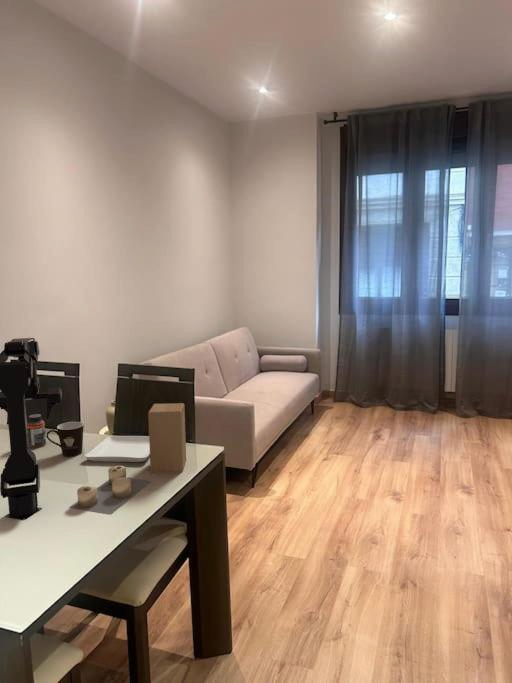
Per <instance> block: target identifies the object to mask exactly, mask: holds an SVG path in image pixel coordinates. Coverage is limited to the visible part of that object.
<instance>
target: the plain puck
mask: <svg viewBox="0 0 512 683" xmlns="http://www.w3.org/2000/svg"><path fill="white" fill-rule="evenodd" d="M129 478H130V477H126V478H118V479H115V480H113V481H112V491H113V498H115V499H124V498H128V497H129V496H131V480H130V479H129Z"/></svg>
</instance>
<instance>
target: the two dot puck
mask: <svg viewBox="0 0 512 683" xmlns="http://www.w3.org/2000/svg"><path fill="white" fill-rule="evenodd" d="M107 470H108V480H109V484H110V485H112V481H113V480H115V479H118V478H127V467H126V466H123V465H115V466H112V467H110V468H108V469H107Z"/></svg>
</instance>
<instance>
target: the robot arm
mask: <svg viewBox="0 0 512 683" xmlns="http://www.w3.org/2000/svg"><path fill="white" fill-rule="evenodd" d="M40 353H41V352H40V347H39V342H38V341H36V339H35V337H22V338H21V337H20V338H12V339H11V340H10V341H7V342H5V343H4V346H3V350H2V351H1V352H0V410H4V411H5V412H6V413H7V422H8V424H7V425H8V434H9V448H10V454H9V456H8V458H7V459H6V461H5V464H4V468H2V473H0V496H2V498H3V499H6V498H7V502H8V504H7V505H8V514H6V515H5V516H4V518H9V519H14V520H20V521H26V520H27V519H29V518H31V517H32V516H34V515H36V514H37V513H38V512H40V511H42V509H43V508H42V507H38V506H39V503H38V493H39V492H40V488H41V476H40V474H41V473H40V472H41V471H40V464H39V463H37V456H36V453H35V452H34V451H32V450H31V449H30V447H29V445H28V432H27V423H28V420H27V418H28V417H27V409H26V408H27V407H26V406H27V405H26V401H29V400H31V401H32V400H41V399H42V400H43V399H44V400H45V399H46V400H47V401H46V413H45V416H46V421H48V420H49V417H50V414H51V411H52V409H53V407H54V406H56V405H58V403H61V402H62V396H63V393H62V388H61V387H59V386H58V387H48V388H47V391H44V392H40V391H41V386H40V377H39V376H38V371H37V366H38V361H39V355H40ZM11 357H12V358H14V359H15V358H16V359H17V360H16V361H15V360H14V361H8V360H9V358H11ZM32 483H33V484H32ZM34 483H35V484H34ZM18 485H19V486H18ZM20 485H21V486H20ZM8 486H9V487H8Z"/></svg>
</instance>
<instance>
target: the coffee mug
mask: <svg viewBox="0 0 512 683" xmlns="http://www.w3.org/2000/svg"><path fill="white" fill-rule="evenodd" d="M84 426H85V424H84V423H83V422H80V421H68V422H64V423H60V424H58V425H57V426H56V429H50V430H48V431H47V433H46V434H45V435H46V438H47V439H46V440H48V441H49V442H50V443H52V444H53V445H56V446H58V447H59V448H60V450H61V455H62V456H63V457H66V458H71V457H77V456H80V455H81V454H82V453H83V441H84ZM52 432H53V433H55V434H56V435H57V436H58V439H59V443H58V442H56V441H54V440H52V439H51V438H50V437H49V434H50V433H52Z"/></svg>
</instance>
